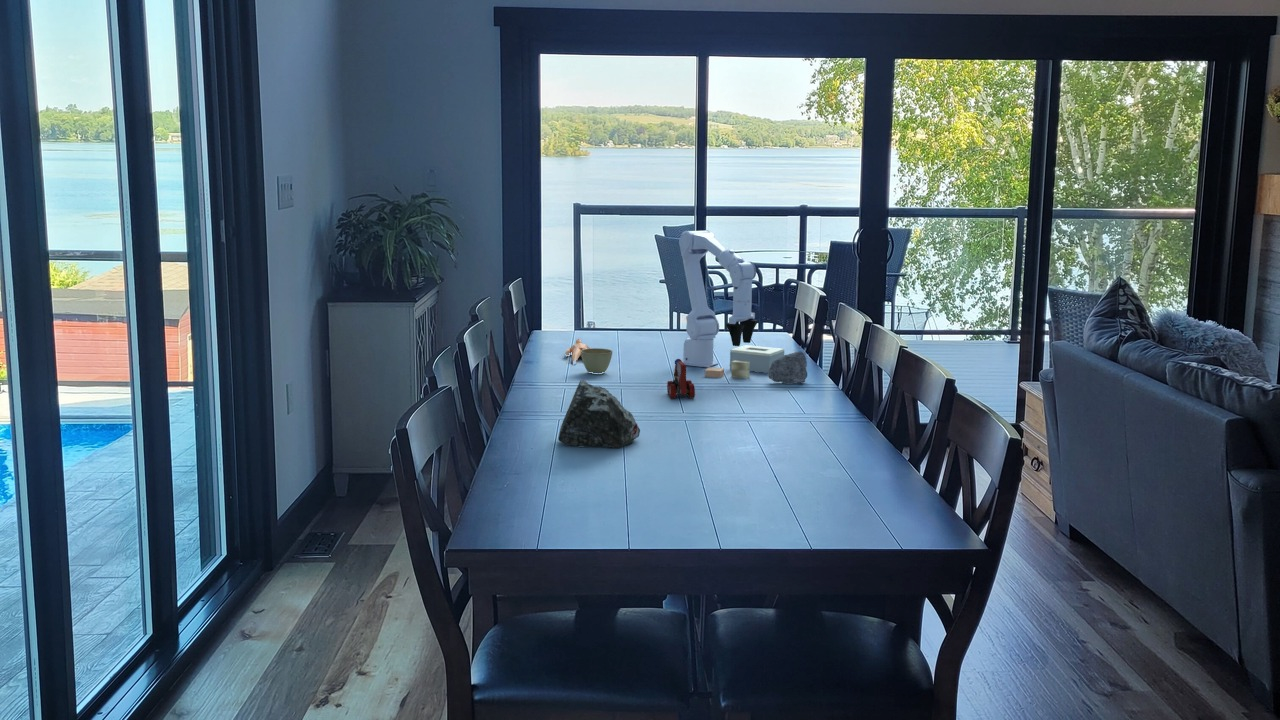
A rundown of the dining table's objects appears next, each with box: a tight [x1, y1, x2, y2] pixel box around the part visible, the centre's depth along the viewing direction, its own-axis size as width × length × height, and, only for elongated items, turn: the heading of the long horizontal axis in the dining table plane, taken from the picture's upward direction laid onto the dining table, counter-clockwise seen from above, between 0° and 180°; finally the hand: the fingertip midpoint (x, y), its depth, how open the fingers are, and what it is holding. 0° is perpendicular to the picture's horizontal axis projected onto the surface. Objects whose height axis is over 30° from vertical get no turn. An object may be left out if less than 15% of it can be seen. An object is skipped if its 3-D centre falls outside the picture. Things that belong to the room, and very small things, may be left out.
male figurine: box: [564, 338, 591, 362], centre depth 368 cm, size 11×5×25 cm
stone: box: [557, 379, 641, 449], centre depth 255 cm, size 19×18×15 cm
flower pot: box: [580, 347, 613, 373], centre depth 341 cm, size 10×10×7 cm
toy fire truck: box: [666, 358, 696, 400], centre depth 308 cm, size 7×12×10 cm, turn 6°
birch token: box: [730, 360, 750, 380], centre depth 336 cm, size 5×2×5 cm, turn 58°
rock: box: [767, 350, 808, 384], centre depth 328 cm, size 12×5×10 cm, turn 87°
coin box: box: [729, 344, 785, 374], centre depth 351 cm, size 14×11×6 cm
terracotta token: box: [704, 366, 725, 379], centre depth 339 cm, size 5×5×2 cm
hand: (741, 344), depth 339 cm, fingers open, 7 cm apart
